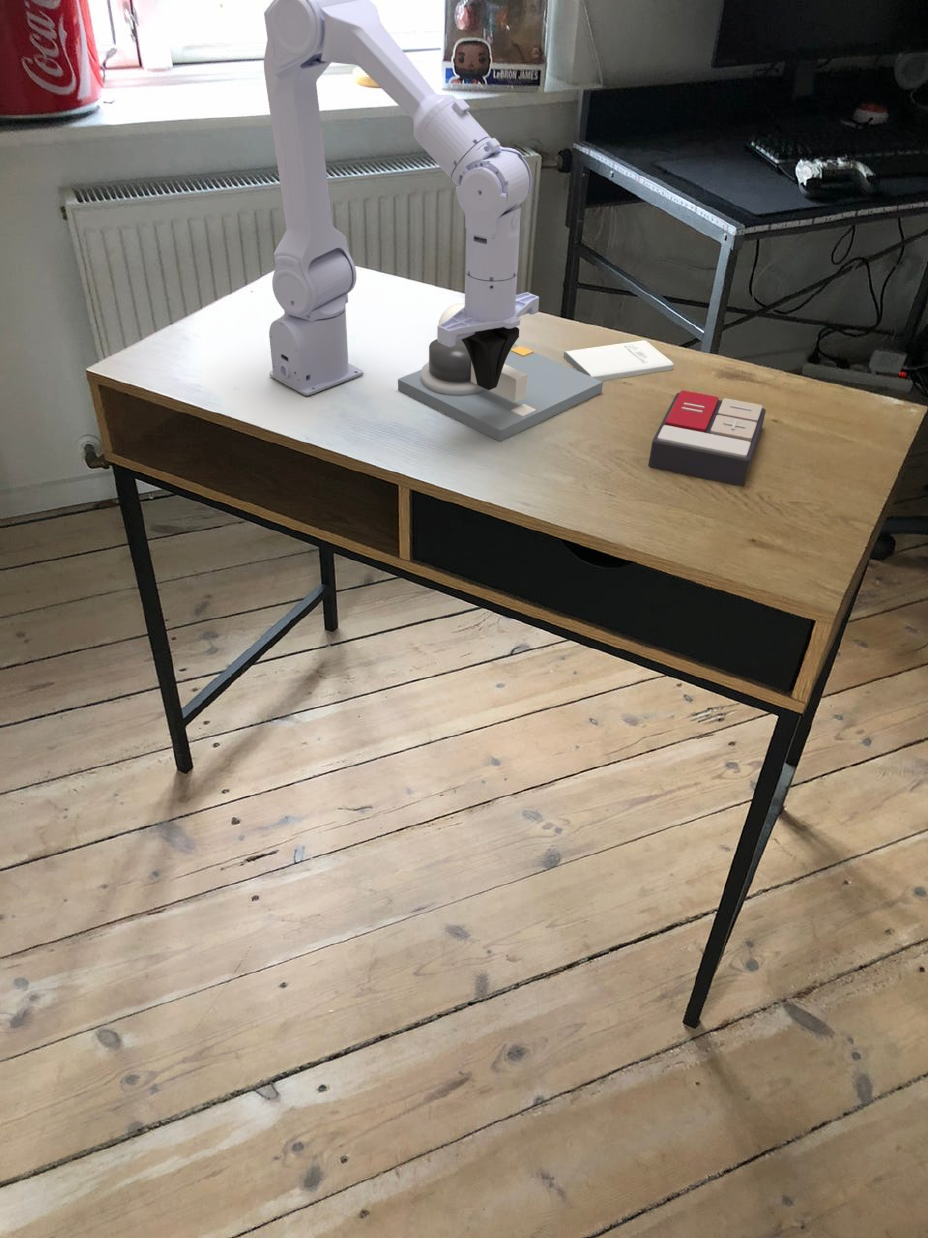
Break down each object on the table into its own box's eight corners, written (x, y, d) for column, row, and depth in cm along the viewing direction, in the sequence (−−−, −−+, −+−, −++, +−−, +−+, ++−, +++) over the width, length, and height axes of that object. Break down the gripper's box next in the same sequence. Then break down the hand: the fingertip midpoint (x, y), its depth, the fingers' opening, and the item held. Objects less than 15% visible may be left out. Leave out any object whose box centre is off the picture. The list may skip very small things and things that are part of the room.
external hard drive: (563, 361, 140) (642, 348, 144) (590, 387, 134) (672, 373, 138) (564, 350, 139) (644, 337, 143) (591, 375, 133) (674, 362, 137)
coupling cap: (417, 368, 129) (417, 346, 128) (456, 352, 133) (457, 330, 131) (500, 408, 122) (501, 385, 120) (539, 390, 126) (541, 368, 124)
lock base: (499, 441, 121) (501, 422, 120) (398, 389, 131) (397, 371, 129) (601, 392, 132) (603, 374, 130) (500, 347, 142) (501, 330, 140)
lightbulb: (455, 351, 147) (467, 365, 138) (421, 321, 145) (432, 334, 135) (484, 316, 146) (498, 328, 136) (451, 286, 144) (463, 296, 134)
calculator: (768, 402, 124) (751, 454, 112) (760, 434, 126) (743, 489, 115) (678, 385, 127) (652, 434, 115) (672, 417, 129) (647, 469, 118)
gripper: (470, 299, 106) (467, 417, 115) (562, 265, 114) (552, 378, 123) (424, 280, 110) (424, 395, 118) (516, 249, 118) (510, 359, 127)
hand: (486, 385), depth 121 cm, fingers closed
